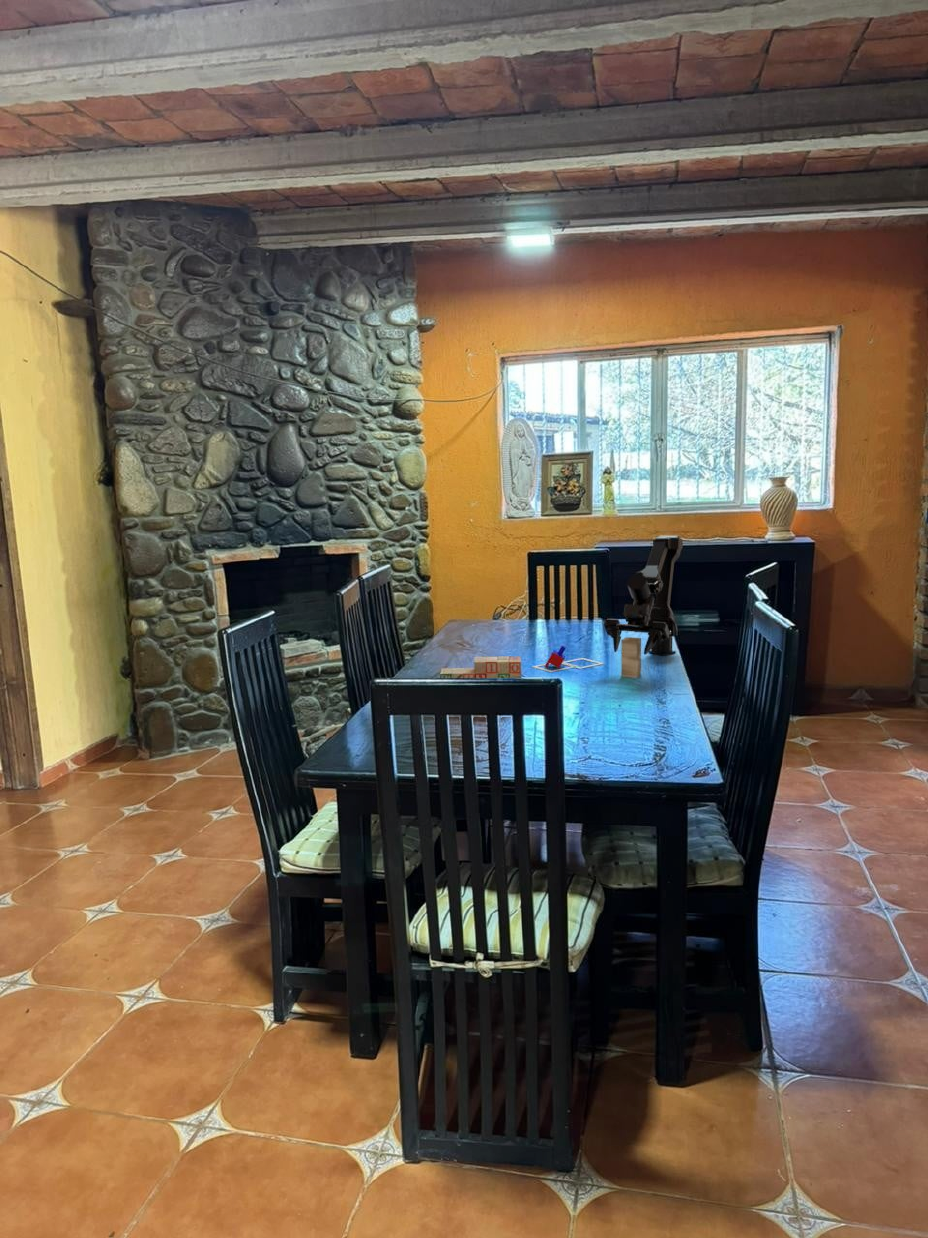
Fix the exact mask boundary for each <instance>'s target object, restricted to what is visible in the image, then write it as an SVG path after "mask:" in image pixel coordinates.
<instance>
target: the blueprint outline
mask: <svg viewBox="0 0 928 1238" xmlns="http://www.w3.org/2000/svg"><path fill="white" fill-rule="evenodd" d="M576 661H577V662H578V661H585V662H586V661H587V662H591V663H593V664H589V665H585V666H580V665H576V664H572V663H573V662H576ZM605 664H606V663H604V662H601V661H597V660H591V659H589V658H584V657H581V658H575V659H570V660H566V661H563V662H562V664H561V665H563V666H567V667H563V668H558V669H553V670H550V669H547V668H545V665H546V663H544V664H543V663H542V664H537V665H533V666H531V668H533V669H538V670H540V671H544V672H548V673H555V672H560V671H565V670H570V669H574V668H575V669H579V670H583V669H587V668H591V667H598V666H602V665H605ZM550 665H552V664H550V663H549V665H548V666H550ZM543 667H544V668H543Z"/></svg>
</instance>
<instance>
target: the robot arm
mask: <svg viewBox="0 0 928 1238" xmlns="http://www.w3.org/2000/svg"><path fill="white" fill-rule="evenodd" d="M683 544H684V542H683V538H680V535H671V534H670V535H668V534H667V535H664V534H663V535H659V536H656V537H653V540H652V548H651V550H650V554H649V557H648V558H647V559H648V560H647V563H646V565H645V568H643V569H642V570H640V571H637V572H636V573H635V574H634V575H632V576H630V577H629V578H628V579H627V581H626V584H627V585H626V586H627V588H628V591H629V594H630V596H631V598H632V599H633V604H625V605H624V609H623V616H624V617H625V622H626V623H620V620H619V619H618V618H607V619H605V620H604V622H603V628H604V630H605V632H606V634H607V636H609V637H610V638H612V642H613V643H612V644H613V651H614V653H617V651H618V649H619V646H620V643H621V640H622V637H621V635H622V632H634V633H641V634H642V633H643V634H644V633H645V634H647V636H648V637H647V640H646V643H645V646H644V650H643V654H644V655H647V654H648V653H649V654H654V655H659V656H667V655H671V654H676V652H677V651H676V650H673V637H677V636H678V626H677V623H676V620H675V614H674V612H673V609H672V608H671V606H670V605H671V595H672V587H673V578H674V577H673V575H674V567H675V563H676V561H677V560H678V559H679V558H680V556H681V551H682V550H683V548H684V547H683V546H684V545H683ZM654 595H656V597H654ZM654 602H655V603H654Z"/></svg>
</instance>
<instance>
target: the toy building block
mask: <svg viewBox="0 0 928 1238" xmlns="http://www.w3.org/2000/svg"><path fill="white" fill-rule="evenodd" d="M566 649H567V647H566V646H564V645H561V646H560V648H559V650H558V651H557V650H555V649H553V651H552V652H551V654H550V656H549V658H548V660H547V661H546V663H545V664H546V665H545V666H544V668H548V667H549V666H550V665H549V663H550V664H551V665H552V666H554V667H556V668H558V669H560V668H561V665H563V664H562V662H564V660H565V658H566V656H565V655H564V652H565V650H566Z"/></svg>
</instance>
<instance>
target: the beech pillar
mask: <svg viewBox="0 0 928 1238" xmlns="http://www.w3.org/2000/svg"><path fill="white" fill-rule="evenodd" d="M620 643H621V645H620V646H621V647H620V649H621V650H620V651H621V653H620V654H621V656H620V657H621V658H620V660H621V666H620V667H621V668H620V669H621V670H620V671H621V676H620V677H623V678H631V679H632V678H634V679H637V678H638V677H640V676H641V674H642V638H641V637H633V636H631V637H630V636H626V637H624V638H621V640H620Z"/></svg>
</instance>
